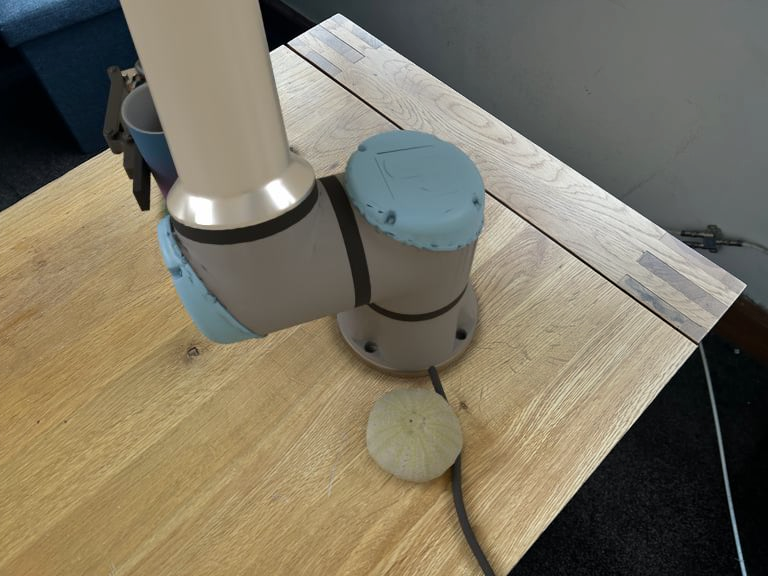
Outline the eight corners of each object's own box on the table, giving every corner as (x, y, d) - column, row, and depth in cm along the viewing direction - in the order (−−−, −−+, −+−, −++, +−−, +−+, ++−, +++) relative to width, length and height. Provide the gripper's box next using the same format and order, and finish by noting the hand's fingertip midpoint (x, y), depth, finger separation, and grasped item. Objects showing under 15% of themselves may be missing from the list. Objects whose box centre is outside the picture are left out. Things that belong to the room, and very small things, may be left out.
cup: (239, 192, 71) (210, 81, 58) (225, 243, 67) (191, 137, 55) (177, 187, 71) (134, 75, 59) (159, 237, 68) (110, 130, 55)
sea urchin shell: (420, 509, 59) (378, 443, 57) (378, 481, 66) (339, 421, 64) (489, 442, 63) (452, 377, 60) (442, 422, 70) (407, 363, 67)
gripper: (271, 52, 75) (290, 210, 63) (99, 69, 73) (85, 235, 61) (261, -8, 69) (281, 155, 57) (73, 9, 67) (52, 181, 55)
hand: (179, 196), depth 59 cm, fingers closed on cup, 6 cm apart
